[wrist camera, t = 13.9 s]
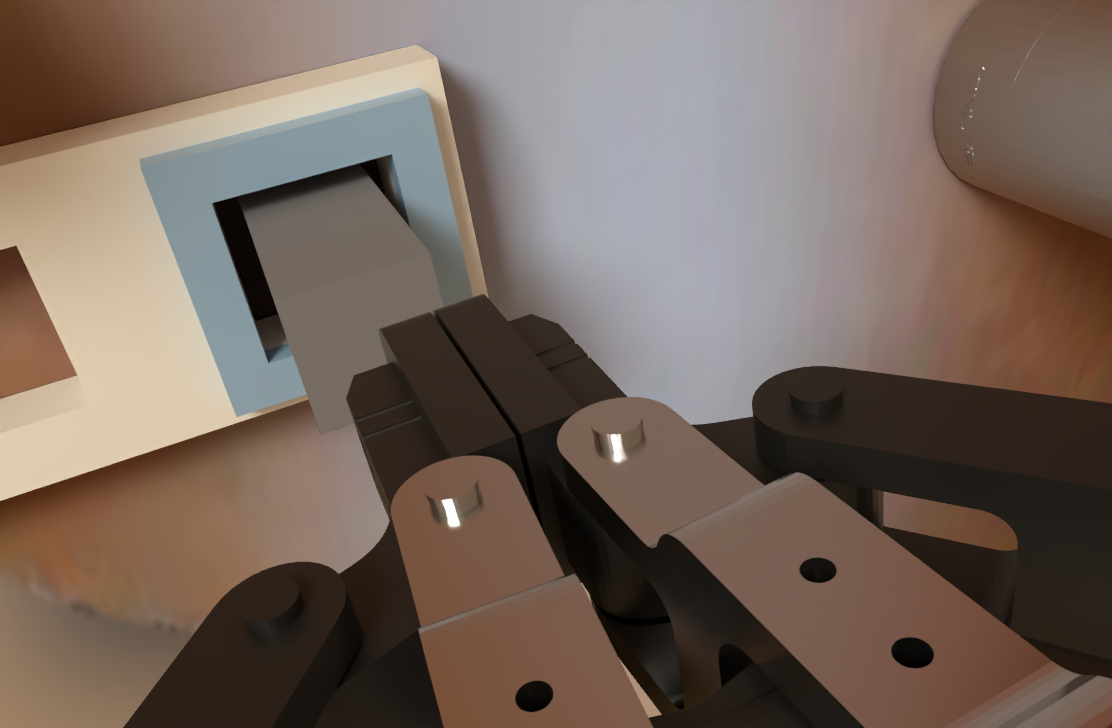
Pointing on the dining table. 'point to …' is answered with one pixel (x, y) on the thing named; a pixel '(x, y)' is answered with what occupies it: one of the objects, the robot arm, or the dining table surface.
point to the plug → (338, 277)
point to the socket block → (201, 251)
